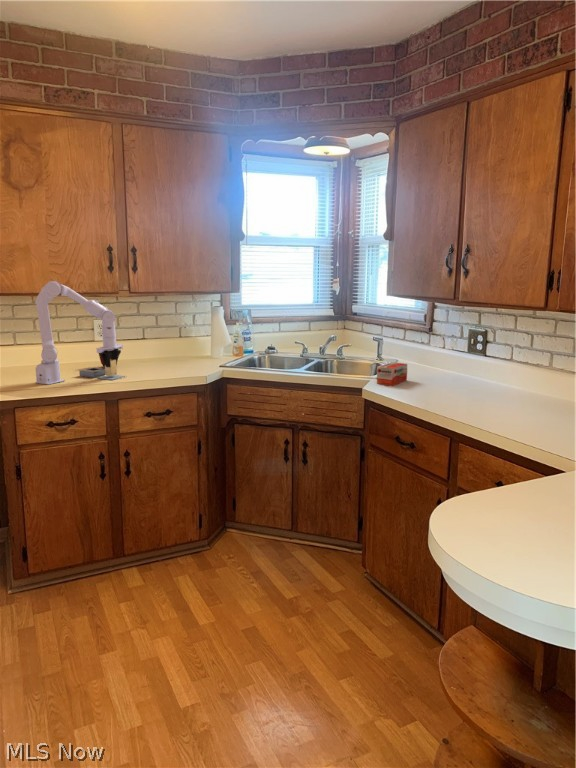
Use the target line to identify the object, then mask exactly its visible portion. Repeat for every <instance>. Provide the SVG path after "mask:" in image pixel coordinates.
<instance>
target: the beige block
mask: <svg viewBox="0 0 576 768" xmlns="http://www.w3.org/2000/svg"><path fill="white" fill-rule="evenodd" d="M117 371H118V370H117V366H116V360H114V359H110V367H106V366H105V374H106V376H107V375H108V376H113V375H118V372H117Z"/></svg>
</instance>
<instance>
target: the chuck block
mask: <svg viewBox="0 0 576 768" xmlns="http://www.w3.org/2000/svg"><path fill="white" fill-rule="evenodd" d="M78 373H79V377H80V376H81V377H80V378H88V377H89V378H90V379H97V378H98V377H100V376H102V377H103V376H104V375H106V374H105V368H104V367H95V366H93V367H88V368H84V369H79V370H78ZM106 376H107V375H106ZM96 377H97V378H96ZM89 378H88V379H89Z"/></svg>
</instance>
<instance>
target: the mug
mask: <svg viewBox="0 0 576 768" xmlns="http://www.w3.org/2000/svg"><path fill="white" fill-rule="evenodd" d="M108 350H110V349H108ZM108 352H109V351H108ZM98 357H99V360H100V363H101V365H102V368H104V367H105V363H104V360H103V358H102V357H101V355H100V353H98Z"/></svg>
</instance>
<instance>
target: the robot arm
mask: <svg viewBox="0 0 576 768" xmlns="http://www.w3.org/2000/svg"><path fill="white" fill-rule="evenodd" d="M59 295H60V297H68V298H69V299H72V300H73V301H75V302H76V303H78V304H80V305H82V306H84V309H85V311H86V312H87V313H88V314H91V315H93V316H94V317H95V318H97V319H100V320H101V323H102V324H101V330H102V331H101V332H102V333H101V335H102V346H100V347H98V348H96V353H97V354H99V353H100V355H101V357H102V358H103V360H104V363H105V366H106V367H110V359H114V360H116V367H118V366H117V365H118V359H119V357H120V355H121V352H122V350H123V349H124V345H123V344H121V343H120V344H117V336H116V326H115V325H116V323H115V320H116V315H115V313H114V312H113V311H112V310H111V309H108V307H107V306H104V305H102V304H100V303H99V301H98V300H97V299H95V300H94V299H89V300H88V299H87V298H86V297H84V296H82V295H81V294H80V293H77V291H75V290H73V289H72V288H70V287H69V286H66V285H64V284H62V283H61V284H60V283H59V282H58V281H56V280H49V281H48V282H47V283H46V284H45V285H44V286H42V288H41V290H40V291H39V293H38V294H37V297H36V299H35V303H36V305H35V306H36V311H37V318H38V319H37V320H38V326H39V330H40V337H41V338H40V339H41V345H42V346H41V347H42V351H41V359H42V360H40V364H37V365H36V367H35V376H36V379H35V380H36V381H35V384H40V385H41V384H42V385H52V384H57V383H60V382H61V383H62V382H65V381H66V380H65V379H63V378H62V379H61V369H60V360H59V359H58V351H57V348H56V347H55V342H54V338H53V332H52V325H51V319H50V311H49V303H50V302H51V301H52V300H53V299H54V298H55V297H58V296H59ZM108 349H110V350H108ZM108 351H109V352H108Z"/></svg>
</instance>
